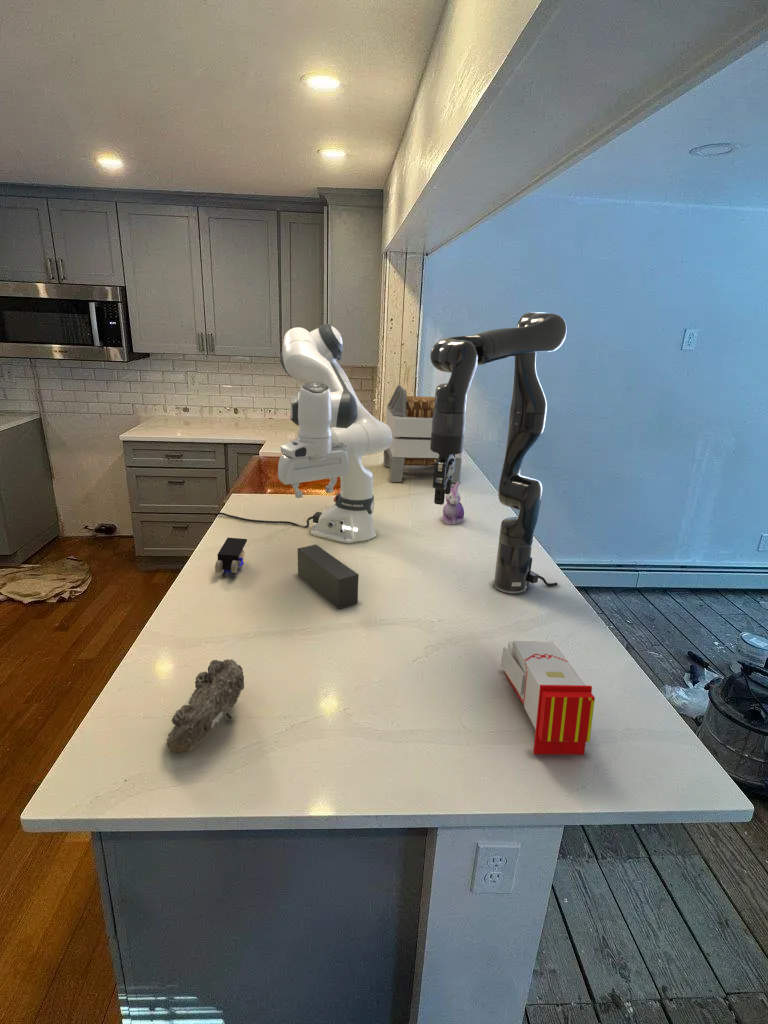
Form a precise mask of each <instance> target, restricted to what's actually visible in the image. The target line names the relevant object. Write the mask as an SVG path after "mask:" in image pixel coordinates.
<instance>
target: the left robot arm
mask: <svg viewBox="0 0 768 1024" xmlns="http://www.w3.org/2000/svg"><path fill="white" fill-rule="evenodd" d="M343 352H344V341H343V338H342V335H341V332H340V331H339V330H338V329H337V328H336V327H335V326H334V325H332V324H330V323H325V324H322V325H319V326H318V327H317V328H315V329H313V330H311V331H309V330H307V329H306V328H303V327H300V326H299V327H298V326H297V327H296V326H295V327H292V328H290V329H289V330H288V331H286V332H285V334H284V336H283V339H282V346H281V353H280V356H279V361H280V365H281V367H282V370H283V371H284V372H285V373H286V374H287V375H288V376H289V377H290V378H291V379H293V380H295V381H297V382H300V383H303V384H301V385H300V388H299V392H297V393H295V394H294V395H293V396H292V397H291V398H290V400H289V401H290V418H289V420H290V421H292V422H293V423H294V424H295V425H296V426H297V427H299V428H298V432H297V437H296V438H294V439H292V440H290V441H288V442H286V443H283V444H282V445H281V446H280V453H282V454H281V456H279V459H278V465H277V479H278V480H279V482H280V483H282V484H283V485H285V486H289V485H290V486H291V487H292V489H293V490H294V497H295V498H296V499H302V498H304V491H302V490H301V489H299V487H300V483H307V482H308V483H309V482H313V481H321V480H329V483H328V485H325V493H327V494H333V493H334V487H335V486H336V484H337V482H338V478H339V482H340V484H339V485H340V488H339V489H340V490H339V491H338V492H337V494H336V495H335V496H334V497H333V502H334V504H333V505H331V506H329V507H328V508H326V509H325V510H323V512H322V511H316V512H315V513H314V514H313V515H312V516H309V517H308V518H307V519H306V525H300V524H298V523H296V522H293V521H288V520H287V521H285V520H263V519H261V520H260V519H252V518H245V517H241V516H237V515H232V514H228V513H226V512H217V513H215V514H214V517H217V516H220V515H221V516H225V517H229V518H233V519H237V520H241V521H245V522H250V523H251V522H252V523H262V524H288V525H293V526H295V527H301V528H304V529H307V528H309V527H310V520H312V523H313V524H314V525H313V526H312V528H311V530H310V533H311V536H315V537H319V538H323V539H326V540H330V541H336V542H339V543H343V544H352V543H357V542H365V541H368V540H372V539H373V538H375V537H376V535H377V532H376V528H375V523H374V513H373V512H374V509H375V496H374V474H373V472H372V471H371V469H369V468H368V467H366V466H364V464H363V463H362V458H363V457H364V456H370V455H377V454H380V453H381V452H384V450H386V449H388V448H389V447H390V445H391V442H392V432H391V430H390V428H389V426H388V425H387V423H386V422H383V421H381V420H380V419H378V418H376V417H375V416H373V414H371V413H370V412H369V411H368V410H367V409H366V408H365V406H364V405H363V404H362V403H361V401H360V399H359V397H358V396H357V394H356V391H355V390H354V388H353V385H352V384H351V381H350V379H349V378H348V375H347V374H346V372H345V371H344V369H343V368H342V366H341V365H340V364H339V363H338V362H339V361H341V360H342V354H343ZM337 360H338V362H337Z"/></svg>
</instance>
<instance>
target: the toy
mask: <svg viewBox="0 0 768 1024" xmlns="http://www.w3.org/2000/svg"><path fill="white" fill-rule="evenodd" d="M500 666H501V668H502V669H503V672H504V674H505V676H506V678H507V679H508V681H509V683H510V685H511V686H512V688H513V690H514V691H515V693H516V695H517V697H518V698H519V701H520V702H521V703H522V705H523V707H524V710H525V712H526V714H527V716H528V718H529V720H530V722H531V724H532V725H533V728H534V730H535V731H534V743H533V755H566V756H567V755H569V756H570V755H571V756H572V755H573V756H584V755H585V752H586V751H585V750H586V743H590V741H591V734H592V732H591V731H592V725H593V716H594V710H595V709H594V708H595V699H596V697H595V696H594V694H593V693H592V692H593V687H592V685H587V684H585V681H583V679H581V677H580V676H579V674H578V673H577V672H576V670H575V669H574V667H573V666H572V664H570V662H569V660H568V659H567V658H566V656H564V654H563V653H562V651H561V650H560V648H559V646H557V645H556V643H555V642H554V641H545V640H544V641H543V640H542V641H540V640H537V641H536V640H512V641H509V642H507V647H506V646H503V647H502V653H501V660H500Z"/></svg>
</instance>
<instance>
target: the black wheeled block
mask: <svg viewBox="0 0 768 1024" xmlns="http://www.w3.org/2000/svg"><path fill="white" fill-rule="evenodd" d="M247 542H248V538H240V537H226V539H225V541H224V543H223V544H222V546H221V547H220V549H219V551H218V552H217V560H216V562H215V564H214V572H215V573H221V577H222V578H224V577H225V576H226V574H227V573H230V574H231V573H232V574H231V578H234V577H235V575H236V573H237V572H239V571H240V567H242V566H243V565H244V564H245V562H244V558H245V551H244V547H245V546H246V544H247Z"/></svg>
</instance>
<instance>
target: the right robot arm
mask: <svg viewBox="0 0 768 1024" xmlns="http://www.w3.org/2000/svg"><path fill="white" fill-rule="evenodd" d="M567 329H568V328H567V323H566V320H565V318H564V317H563V316H561V315H560V314H558V313H553V312H538V311H537V312H535V311H530V312H525V313H523V314H522V316H520V318H519V320H518V322H517V325H516V327H505V328H495V329H489V330H485V331H482V332H477V333H475V334H471V335H470V334H469V335H459V336H450V337H445V338H441V339H440V340H438V341H437V342H436V343H435V344H434V345H433V346H432V348H431V350H430V355H429V359H430V362H431V365H432V366H433V367H434V368H435V369H436V370H438V371H440V372H443V373H451V374H450V377H449V379H448V382H445V383H440V384H438V385H437V386H436V388H435V393H434V397H435V405H434V414H433V419H432V429H431V443H430V449H431V451H433V452H435V453H438V454H439V457H438V460H436V462H435V466H434V471H433V482H432V488H433V489H434V500H433V502H434V503H433V504H434V505H440V506H443V505H444V503H445V500H446V495H447V494H450V491H451V486H452V483H451V480H452V477H453V474H454V472H455V471H454V469H455V468H454V466H455V454H460V453H461V452H462V453H463V451H464V450H463V449H464V443H465V431H466V408H467V399H468V398H467V395H468V392H469V389H470V388H471V384H472V381H473V378H474V376H475V372H476V370H477V367H478V366H483V365H487V364H491V363H494V362H497V361H501V360H505V359H508V358H511V357H514V369H513V370H514V374H513V385H512V395H511V403H510V408H509V418H508V431H507V439H506V448H505V453H504V459H503V463H502V469H501V474H500V479H499V484H498V495H497V496H498V500H499V502H500V504H501V505H503V506H505V507H507V508H512V509H514V510H518V511H519V512H518V516H510V517H506V518H504V519H502V521H501V522H500V529H499V535H498V545H497V554H496V561H495V570H494V577H493V581H492V582H493V584H492V586H493V588H495V589H496V590H497V591H499V592H502V593H505V594H511V595H518V594H519V595H520V594H522V593H524V592H526V590H527V589H529V585H530V584H532V585H533V584H536V583H538V581H539V579H540V580H541V581H542V582H543V584H545V585H546V586H547V587H554V586H558V582H552V583H551V582H547V580H546V579H545V577H543V576H542V575H540V574H539V573H537V572H535V571H533V570H532V565H533V557H532V556H531V554H532V548H533V541H534V533H535V529H536V526H537V523H538V519H539V513H540V508H541V505H542V499H543V492H544V491H543V490H544V489H543V484H542V482H541V481H540V480H539V479H535V478H531V477H528V476H525V475H521V470H522V464H523V461H524V458H525V456H526V455H527V453H528V452H529V451H530V450H531V449H532V447H533V446H534V445H535V444H536V443H537V442H538V440H539V438H540V437H541V436H542V435H543V432H544V429H545V427H546V426H545V425H546V419H547V418H546V417H547V410H548V403H547V399H546V395H545V393H544V390H543V387H542V385H541V383H540V382H541V381H540V380H539V377H538V374H537V365H536V362H537V352H540V353H550V352H555V351H556V350H558V349H559V348H561V346H562V345H563V344H564V342H565V340H566V337H567ZM462 453H461V454H462ZM450 478H451V479H450ZM439 481H441V482H439Z"/></svg>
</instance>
